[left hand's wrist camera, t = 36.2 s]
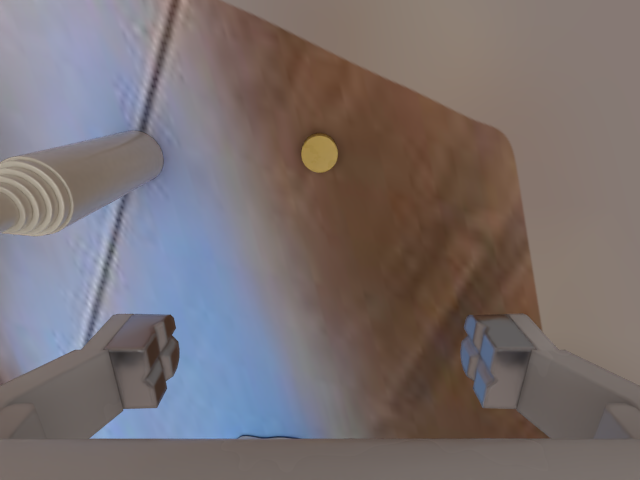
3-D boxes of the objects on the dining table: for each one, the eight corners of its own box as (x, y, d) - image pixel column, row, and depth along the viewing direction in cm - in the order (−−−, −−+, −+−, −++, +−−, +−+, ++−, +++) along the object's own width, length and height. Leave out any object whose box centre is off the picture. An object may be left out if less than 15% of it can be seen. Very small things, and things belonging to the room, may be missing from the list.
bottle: (168, 181, 42) (19, 272, 21) (118, 182, 42) (-78, 275, 21) (158, 129, 40) (-17, 174, 19) (106, 131, 40) (-125, 178, 19)
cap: (343, 156, 41) (345, 160, 39) (314, 175, 42) (313, 180, 40) (325, 125, 40) (325, 127, 38) (295, 145, 41) (293, 148, 39)
